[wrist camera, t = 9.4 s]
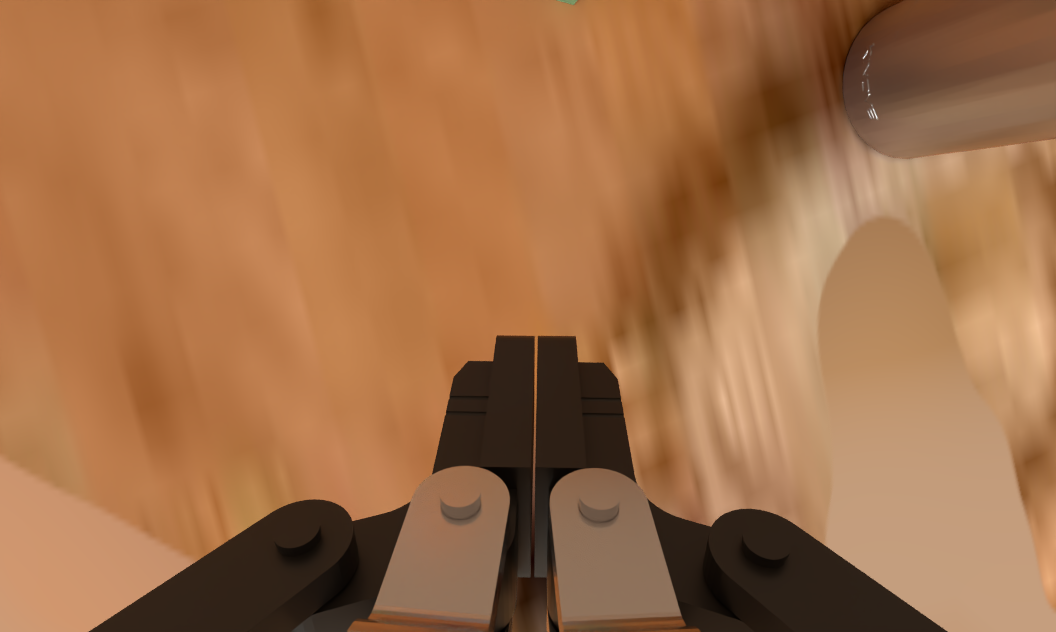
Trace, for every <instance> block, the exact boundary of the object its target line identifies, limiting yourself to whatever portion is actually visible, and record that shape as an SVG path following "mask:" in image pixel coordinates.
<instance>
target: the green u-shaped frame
mask: <svg viewBox="0 0 1056 632" xmlns="http://www.w3.org/2000/svg"><path fill="white" fill-rule="evenodd" d="M558 1H561V2H565V3H568V4H572V5H574V4H575V3H576V1H577V0H558Z"/></svg>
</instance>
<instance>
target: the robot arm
mask: <svg viewBox="0 0 1056 632" xmlns="http://www.w3.org/2000/svg"><path fill="white" fill-rule="evenodd" d="M843 96H844V102H845V108H846V111H847V113H848V116H849V119H850V122H851V124H852V125H853V127H854V128H855V130H856V132H857V133H858V135H859V136H860V137H861V138H862V139H863V140H864V141H865V142H866V143H867V144H868V145H869V146H870V147H872V148H873V149H875V150H876V151H878V152H879V153H881V154H884V155H887V156H890V157H893V158H902V159H911V158H918V157H925V156H933V155H940V154H947V153H955V152H963V151H971V150H978V149H986V148H993V147H1000V146H1007V145H1014V144H1021V143H1028V142H1035V141H1042V140H1050V139H1056V0H904V1H902V2H900V3H898V4H896V5H894V6H891V7H889V8H887V9H886V10H884V11H882V12H881V13H879V14H878V15H876V16H875V17H873V18H872V19H871V20H870V21H869V22H868V23H867V24H866V25H865V26H864V27H863V28H862V30H861V31H860V33H859V34H858V36H857V37H856V39H855V40H854V42H853V44H852V47H851V49H850V51H849V54H848V56H847V60H846V64H845V69H844V73H843ZM534 354H535V337H534V336H497V337H496V344H495V351H494V359H493V361H468V362H467V363H466V364H465V365H464V367H463V368H462V369H461V370H460V371H459V372H458V373H457V374H456V375H455V376H454V378H453V383H452V387H451V392H450V399H449V401H448V405H447V410H446V415H445V419H444V423H443V428H442V432H441V437H440V441H439V446H438V450H437V455H436V459H435V464H434V468H433V473H432V475H431V476H429V477H428V478H427V479H425V480H424V481H423V482H422V483H421V484H420V485H419V487H418V488H417V489H416V491H415V493H414V495H413V497H412V500H411V502H409V503H408V504H406V505H404V506H402V507H400V508H398V509H396V510H393V511H391V512H387V513H384V514H380V515H376V516H372V517H368V518H364V519H360V520H356V521H352V519H351V517H350V515H349V514H348V512H347V511H346V510H345V509H344V508H342V507H341V506H339V505H338V504H335V503H333V502H330V501H325V500H315V499H314V500H304V501H298V502H295V503H291V504H288V505H286V506H283V507H281V508H279V509H277V510H275V511H274V512H272V513H270V514H269V515H267V516H266V517H264V518H263V519H261V520H260V521H258V522H256V523H255V524H253V525H252V526H250V527H249V528H247V529H246V530H244V531H243V532H241V533H240V534H238V535H236V536H235V537H233V538H232V539H230V540H229V541H227V542H226V543H224V544H223V545H221V546H220V547H218V548H217V549H215V550H213V551H212V552H210V553H209V554H207V555H206V556H204V557H203V558H201V559H200V560H198V561H197V562H195V563H193V564H192V565H190V566H189V567H187V568H186V569H184V570H183V571H181V572H180V573H178V574H177V575H175V576H174V577H172V578H171V579H169V580H167V581H166V582H164V583H163V584H162V585H160V586H158V587H157V588H155V589H154V590H152V591H151V592H149V593H147V594H146V595H144V596H143V597H141V598H140V599H138V600H137V601H135V602H134V603H132V604H131V605H129V606H127V607H126V608H124V609H123V610H121V611H120V612H118V613H117V614H115V615H114V616H112V617H111V618H109V619H108V620H106V621H104V622H103V623H102V624H100V625H98V626H97V627H95V628H94V629H92V630H91V631H89V632H512V616H513V614H514V611H515V607H516V596H517V577H530V572H531V530H532V488H533V446H534ZM535 577H547V632H947V631H946V630H944V629H943V628H941V627H940V626H939V625H937V624H936V623H934V622H933V621H932V620H930V619H929V618H927V617H926V616H924V615H923V614H921V613H920V612H919V611H917V610H916V609H914V608H913V607H912V606H910V605H909V604H907V603H906V602H904V601H903V600H901V599H900V598H899V597H897V596H896V595H895V594H893V593H892V592H890V591H889V590H887V589H886V588H885V587H883V586H882V585H880V584H879V583H877V582H876V581H875V580H873V579H872V578H870V577H869V576H867V575H866V574H865V573H863V572H861V571H860V570H859V569H857V568H856V567H855V566H853V565H852V564H850V563H849V562H848V561H846V560H844V559H843V558H842V557H840V556H839V555H837V554H836V553H835V552H833V551H832V550H830V549H829V548H828V547H826V546H825V545H823V544H822V543H820V542H819V541H818V540H816V539H815V538H813V537H812V536H810V535H809V534H808V533H806V532H805V531H803V530H802V529H801V528H799V527H798V526H796V525H795V524H793V523H792V522H790V521H788V520H787V519H785V518H783V517H780V516H778V515H776V514H773V513H770V512H767V511H762V510H756V509H739V510H734V511H731V512H728V513H725V514H724V515H722V516H720V517H719V518H718V519H717V520H716V521H715V522H714V524H713V525H712V527H710V526H706V525H703V524H699V523H696V522H692V521H688V520H685V519H682V518H679V517H676V516H673V515H671V514H669V513H667V512H665V511H663V510H661V509H660V508H658V507H657V506H655V505H654V504H653V503H652V502H650V501H649V500H648V499H647V498H646V495H645V494H644V492H643V491H642V489H641V488H640V487H639V486H638V485H637V483H636V479H635V475H634V469H633V464H632V458H631V452H630V447H629V441H628V435H627V430H626V424H625V418H624V413H623V407H622V402H621V396H620V390H619V384H618V379H617V378H616V377H615V376H614V374H613V373H612V372H611V371H610V370H609V369H608V367H607V366H606V365H605V364H604V363H585V362H578V357H577V345H576V337H575V336H538V357H537V410H536V464H535Z"/></svg>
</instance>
